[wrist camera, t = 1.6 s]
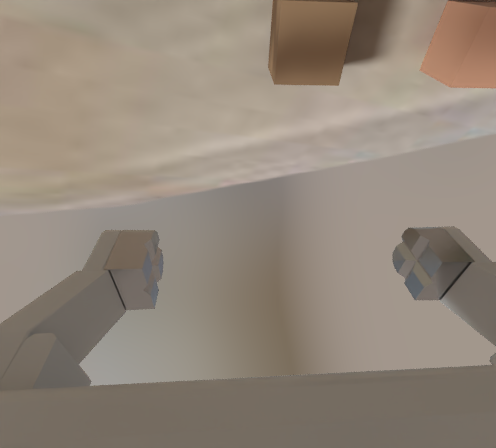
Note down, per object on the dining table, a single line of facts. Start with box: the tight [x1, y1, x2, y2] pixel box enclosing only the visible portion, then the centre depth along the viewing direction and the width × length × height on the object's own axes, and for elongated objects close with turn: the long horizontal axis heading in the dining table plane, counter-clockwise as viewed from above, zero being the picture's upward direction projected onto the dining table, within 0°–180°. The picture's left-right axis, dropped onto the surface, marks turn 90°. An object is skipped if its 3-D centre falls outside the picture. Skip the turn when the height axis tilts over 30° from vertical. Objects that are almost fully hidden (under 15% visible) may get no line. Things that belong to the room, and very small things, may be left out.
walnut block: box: [268, 0, 358, 86], centre depth 21 cm, size 5×5×5 cm
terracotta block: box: [420, 0, 496, 88], centre depth 22 cm, size 5×5×5 cm
